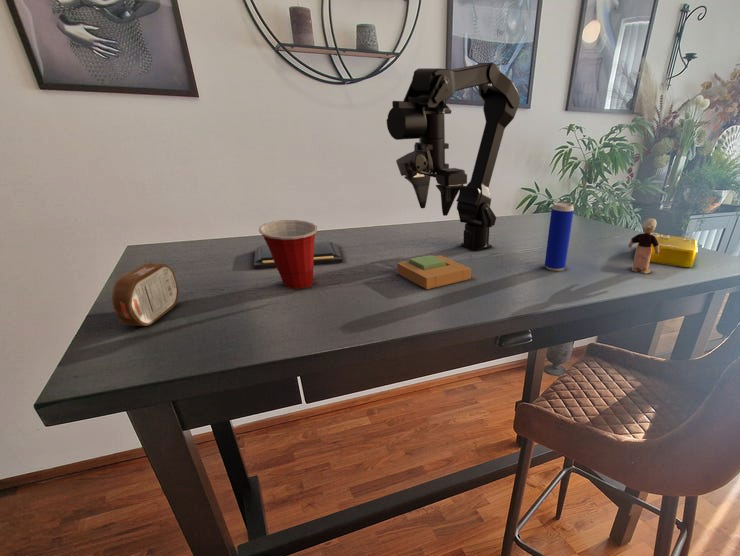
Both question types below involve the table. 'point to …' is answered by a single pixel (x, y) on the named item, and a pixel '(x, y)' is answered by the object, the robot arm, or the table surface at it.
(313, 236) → the plastic cup
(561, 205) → the beverage can
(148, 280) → the tin
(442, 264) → the green pad
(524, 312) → the table surface
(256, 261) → the wallet
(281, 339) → the table surface
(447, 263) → the wooden block
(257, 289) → the table surface
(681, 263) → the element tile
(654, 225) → the grandmother figurine
